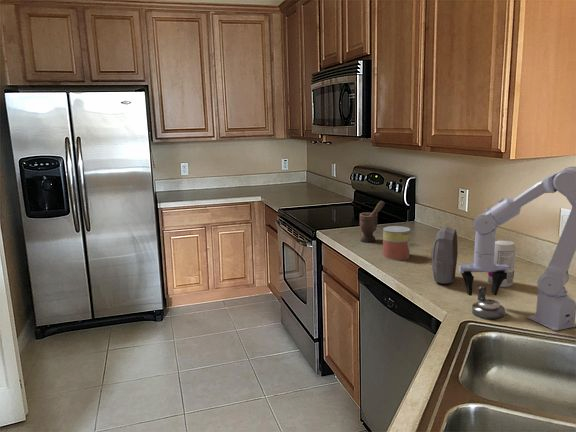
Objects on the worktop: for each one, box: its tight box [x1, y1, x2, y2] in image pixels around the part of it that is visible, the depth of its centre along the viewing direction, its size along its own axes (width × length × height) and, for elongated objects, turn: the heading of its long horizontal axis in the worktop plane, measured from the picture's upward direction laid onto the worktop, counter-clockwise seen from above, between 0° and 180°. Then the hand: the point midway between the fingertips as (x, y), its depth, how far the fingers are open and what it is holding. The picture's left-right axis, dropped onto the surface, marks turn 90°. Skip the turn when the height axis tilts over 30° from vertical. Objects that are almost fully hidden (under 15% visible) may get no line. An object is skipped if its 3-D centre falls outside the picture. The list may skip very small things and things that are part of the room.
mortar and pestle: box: [359, 200, 386, 243], centre depth 227 cm, size 12×9×20 cm
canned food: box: [382, 225, 411, 261], centre depth 202 cm, size 11×11×12 cm
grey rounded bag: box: [430, 226, 459, 284], centre depth 170 cm, size 15×8×20 cm, turn 153°
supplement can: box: [487, 239, 517, 288], centre depth 165 cm, size 8×8×15 cm
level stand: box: [471, 301, 506, 321], centre depth 142 cm, size 9×9×2 cm
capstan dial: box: [477, 285, 501, 310], centre depth 143 cm, size 10×6×4 cm, turn 179°
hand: (481, 294), depth 147 cm, fingers open, 7 cm apart
